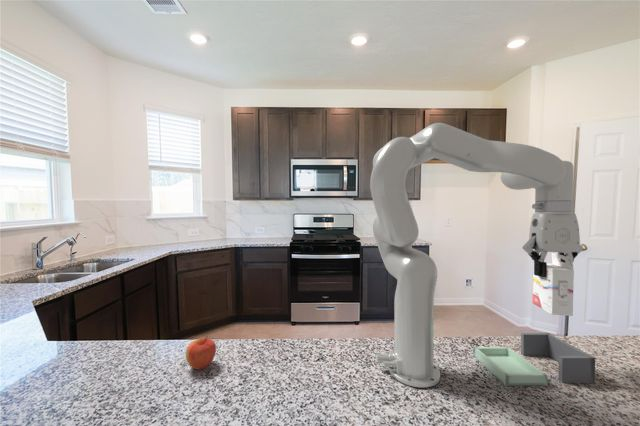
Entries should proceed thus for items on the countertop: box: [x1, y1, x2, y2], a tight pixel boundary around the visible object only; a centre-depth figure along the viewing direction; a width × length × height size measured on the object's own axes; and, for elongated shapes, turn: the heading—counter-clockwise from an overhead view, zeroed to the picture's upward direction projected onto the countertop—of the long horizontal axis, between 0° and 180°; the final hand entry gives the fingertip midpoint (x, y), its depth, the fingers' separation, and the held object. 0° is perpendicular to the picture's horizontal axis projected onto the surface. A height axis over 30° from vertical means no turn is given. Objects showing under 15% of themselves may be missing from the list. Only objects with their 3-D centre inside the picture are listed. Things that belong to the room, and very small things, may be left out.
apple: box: [185, 335, 217, 371], centre depth 70 cm, size 7×7×8 cm
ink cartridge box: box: [532, 252, 575, 317], centre depth 70 cm, size 9×5×15 cm, turn 169°
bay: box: [520, 332, 596, 384], centre depth 70 cm, size 8×13×6 cm, turn 0°
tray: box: [472, 346, 548, 387], centre depth 69 cm, size 10×13×2 cm
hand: (552, 275), depth 70 cm, fingers closed on ink cartridge box, 5 cm apart
